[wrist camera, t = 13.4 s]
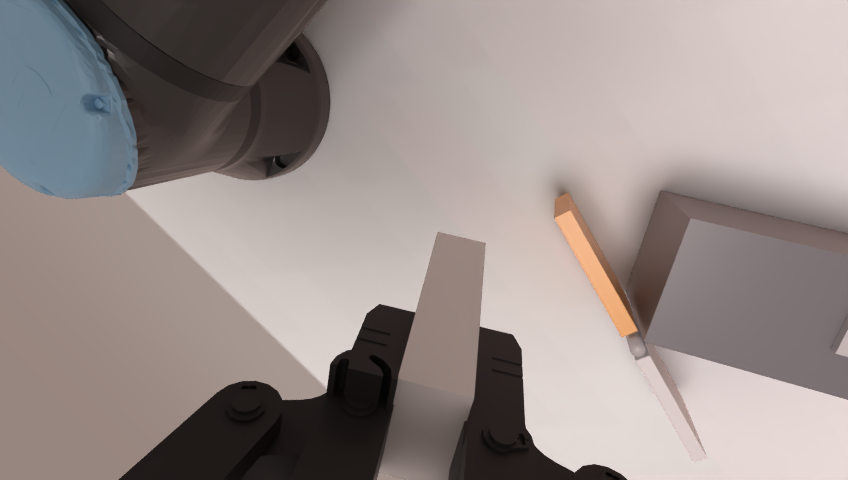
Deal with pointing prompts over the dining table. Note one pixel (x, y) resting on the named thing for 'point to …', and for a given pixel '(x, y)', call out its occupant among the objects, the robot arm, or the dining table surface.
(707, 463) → the dining table surface
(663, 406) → the side door
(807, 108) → the dining table surface
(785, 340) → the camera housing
